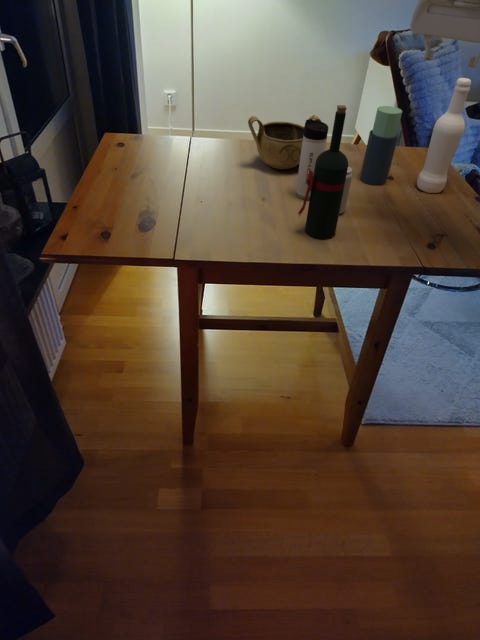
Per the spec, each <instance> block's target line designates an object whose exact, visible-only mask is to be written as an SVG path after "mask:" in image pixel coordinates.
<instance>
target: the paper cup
mask: <svg viewBox="0 0 480 640" xmlns="http://www.w3.org/2000/svg"><path fill="white" fill-rule="evenodd" d="M402 115H403V110H402V109H401V108H399V107H395V106H391V105H382V106H378V107H377V109H376V113H375V117H374V122H373V127H372V129H371V130H372V132H373V134H374V135H376V136H379V137H385V138H391V137H395V136H396V134H398V130H399V125H400V123H401V118H402Z"/></svg>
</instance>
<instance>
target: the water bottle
mask: <svg viewBox="0 0 480 640" xmlns="http://www.w3.org/2000/svg"><path fill="white" fill-rule="evenodd" d="M372 130H373V129H371V130H370V131H369V134H368V137H367V138H368V139H367V142H366V146H365V152H364V156H363V161H362V165H361V169H360V174H359V180H360V181H361V182H362V183H364V184H367V185H370V186H384V185H385V184H386V183H387V180H388V177H389V174H390V170H391V166H392V163H393V158H394V155H395V151H396V147H397V145H398V144H397V143H398V141H399V140H398V139H399V133H397V134H396V136H395V137H391V138H385V137H379V136H376V135H374V134H373V132H372Z"/></svg>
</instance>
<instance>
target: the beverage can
mask: <svg viewBox="0 0 480 640" xmlns="http://www.w3.org/2000/svg"><path fill="white" fill-rule="evenodd" d="M352 178H353V168H352V167H350V166H349V165H348V170H347V175H346V180H345V186H344V191H343V196H342V201H341V206H340V211H339V215H340V214H341V215H342V214H343V213H344V212H345V211H346V206H347V202H348V197H349V192H350V188H351V183H352Z"/></svg>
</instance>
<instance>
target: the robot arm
mask: <svg viewBox="0 0 480 640" xmlns="http://www.w3.org/2000/svg"><path fill="white" fill-rule="evenodd" d="M409 30H410V33H412V34H415V35H422V36H424V37H423V47H424V50H425V52H424V57H423V61H429V62H430V61H432V60H433V59H434V54H435V49H432V47H431V41H433V39H434V37H435V38H443V39H449V40H456V41H462V42H469V43H476V44H480V0H417V3H416V5H415V7H414V9H413V13H412V16H411V20H410V23H409ZM479 62H480V53H479V54H477V55H476V56H471V57H470V60H469V63H468V67H467V68H471V69H476V68H477V67H478V64H479Z"/></svg>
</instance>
